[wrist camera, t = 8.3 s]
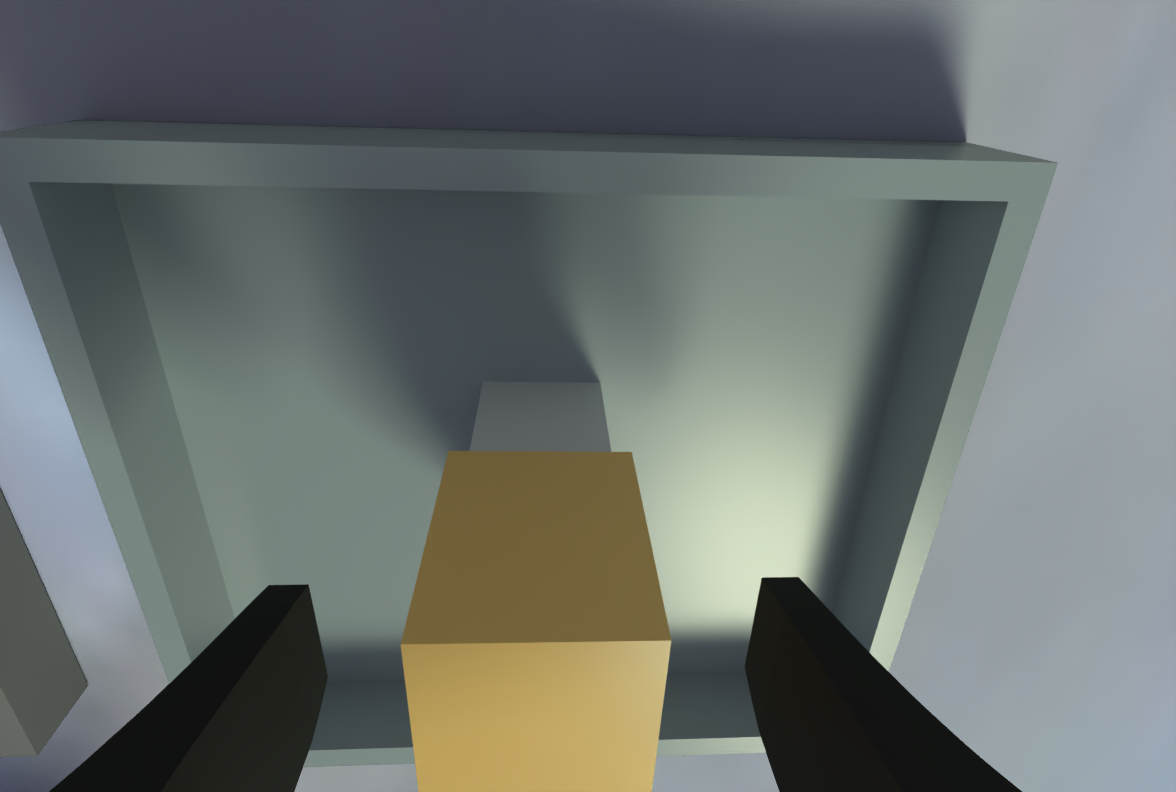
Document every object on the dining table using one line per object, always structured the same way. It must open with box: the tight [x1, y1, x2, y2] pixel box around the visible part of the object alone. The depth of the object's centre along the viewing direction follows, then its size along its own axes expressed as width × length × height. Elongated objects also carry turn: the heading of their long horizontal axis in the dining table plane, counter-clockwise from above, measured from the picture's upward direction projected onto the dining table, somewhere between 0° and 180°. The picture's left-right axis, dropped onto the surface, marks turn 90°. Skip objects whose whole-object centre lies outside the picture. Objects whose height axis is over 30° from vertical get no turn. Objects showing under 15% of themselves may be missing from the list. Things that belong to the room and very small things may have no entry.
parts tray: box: [0, 120, 1058, 767], centre depth 14 cm, size 14×16×2 cm
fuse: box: [401, 381, 671, 792], centre depth 11 cm, size 4×3×7 cm
